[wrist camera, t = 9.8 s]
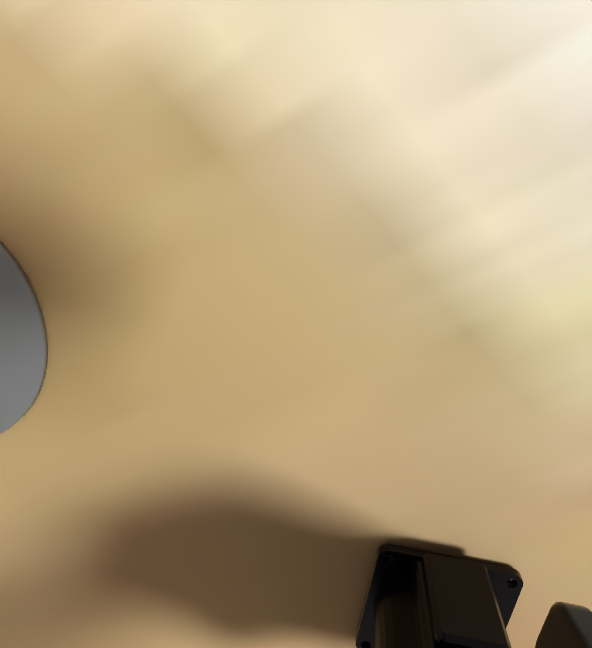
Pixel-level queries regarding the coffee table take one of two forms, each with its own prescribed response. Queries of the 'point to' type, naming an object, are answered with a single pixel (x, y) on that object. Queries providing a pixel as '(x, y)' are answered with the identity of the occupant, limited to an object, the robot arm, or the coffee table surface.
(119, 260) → the coffee table surface
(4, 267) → the felt mat
